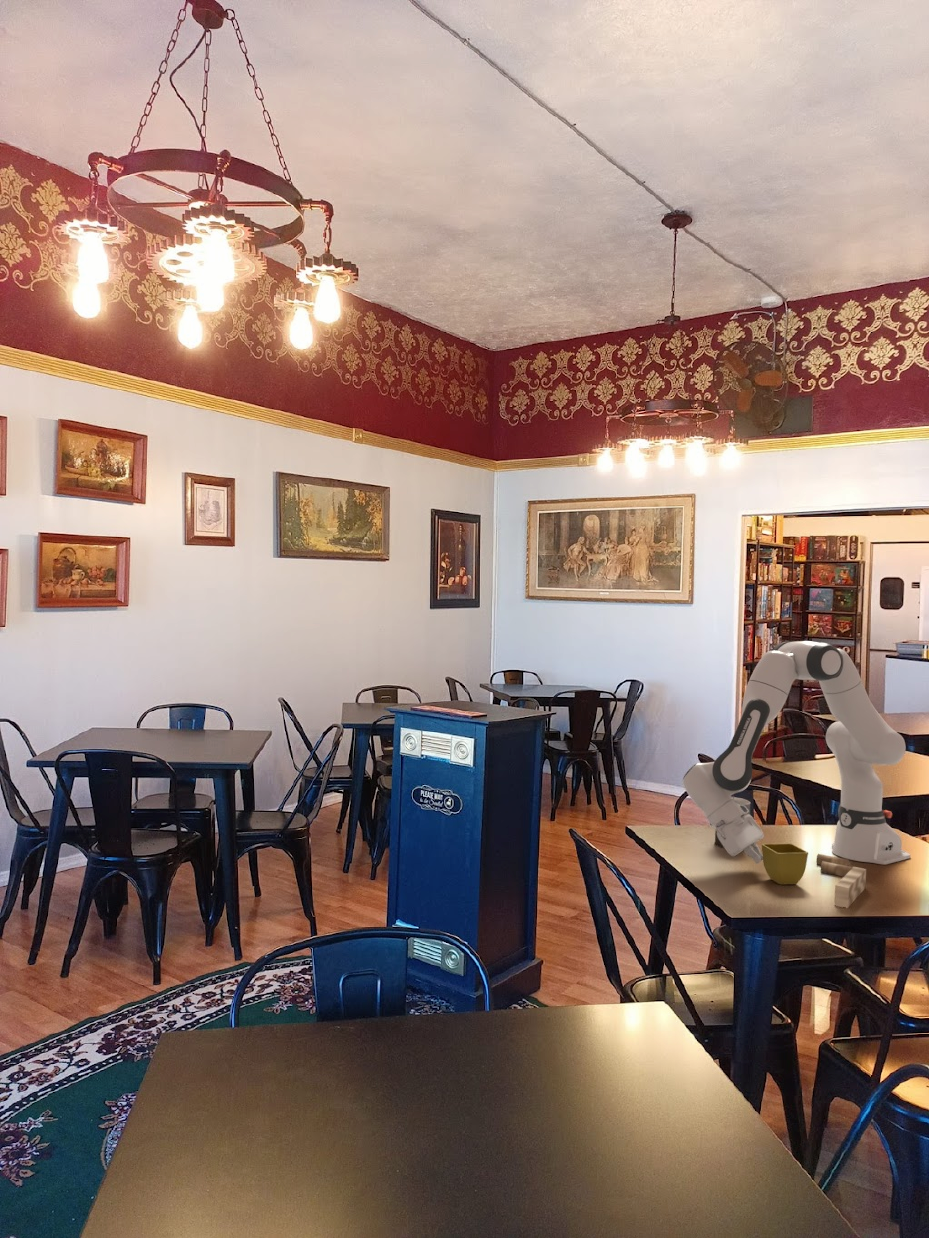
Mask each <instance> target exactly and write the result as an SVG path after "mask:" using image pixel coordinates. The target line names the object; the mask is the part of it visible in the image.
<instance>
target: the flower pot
mask: <svg viewBox="0 0 929 1238" xmlns="http://www.w3.org/2000/svg"><path fill="white" fill-rule="evenodd" d="M761 853H762V855H763V860H762V862H763V866H764V869H765V872H766V874H767V875H768V878H769V879H770V880H772V881H773V882H774V883H777V884H778V885H796V884H798V883H799V882H800V881H801V880H802V878H803V876H804V874H805V872H806V866H807V862H808V855H809V852H808V851H806V850H804V849H803V848H801V847H798V846H797V845H795V844H793V843H791V842H790V843H761Z"/></svg>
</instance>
